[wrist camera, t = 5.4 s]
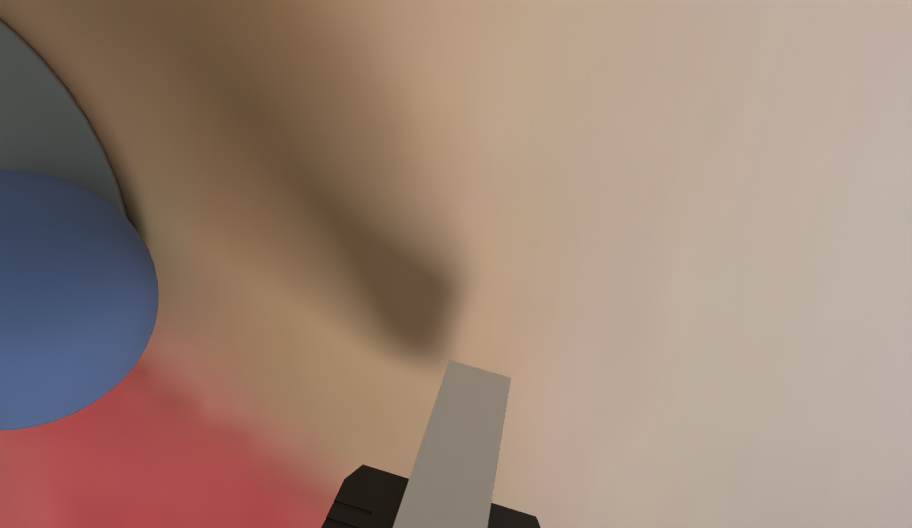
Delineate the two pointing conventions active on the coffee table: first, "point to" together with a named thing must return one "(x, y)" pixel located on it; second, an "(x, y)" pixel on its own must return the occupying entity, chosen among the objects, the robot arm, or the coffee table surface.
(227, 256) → the coffee table surface
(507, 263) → the coffee table surface
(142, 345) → the ball
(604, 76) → the coffee table surface
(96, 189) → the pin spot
